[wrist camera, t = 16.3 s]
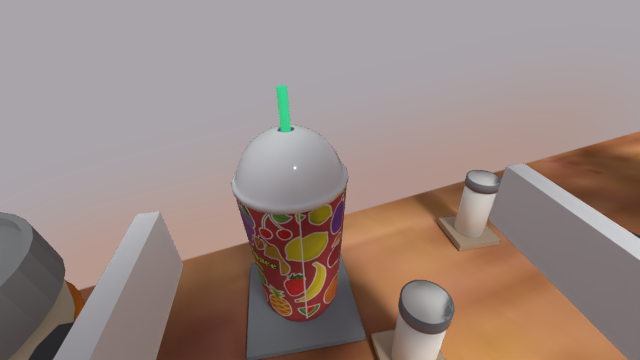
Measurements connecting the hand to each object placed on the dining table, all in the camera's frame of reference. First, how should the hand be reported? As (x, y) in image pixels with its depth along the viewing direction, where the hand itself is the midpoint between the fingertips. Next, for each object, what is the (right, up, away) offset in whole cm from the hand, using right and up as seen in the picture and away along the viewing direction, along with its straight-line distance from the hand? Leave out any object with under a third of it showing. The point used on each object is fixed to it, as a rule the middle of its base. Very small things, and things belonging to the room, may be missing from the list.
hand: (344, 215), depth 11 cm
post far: (+17, -5, +25) cm, 30 cm away
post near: (+6, -13, +12) cm, 19 cm away
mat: (-3, -10, +17) cm, 21 cm away
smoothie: (-3, -10, +17) cm, 20 cm away
